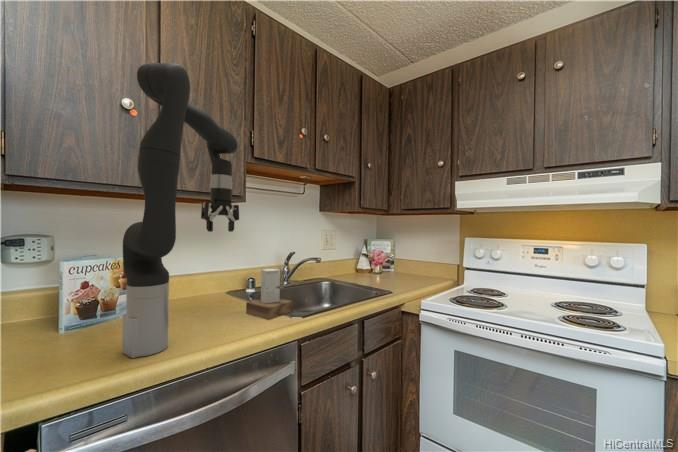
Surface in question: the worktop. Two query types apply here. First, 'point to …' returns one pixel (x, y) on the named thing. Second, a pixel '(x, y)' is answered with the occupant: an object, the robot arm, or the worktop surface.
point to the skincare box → (270, 285)
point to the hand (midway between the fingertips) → (220, 231)
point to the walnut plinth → (269, 308)
